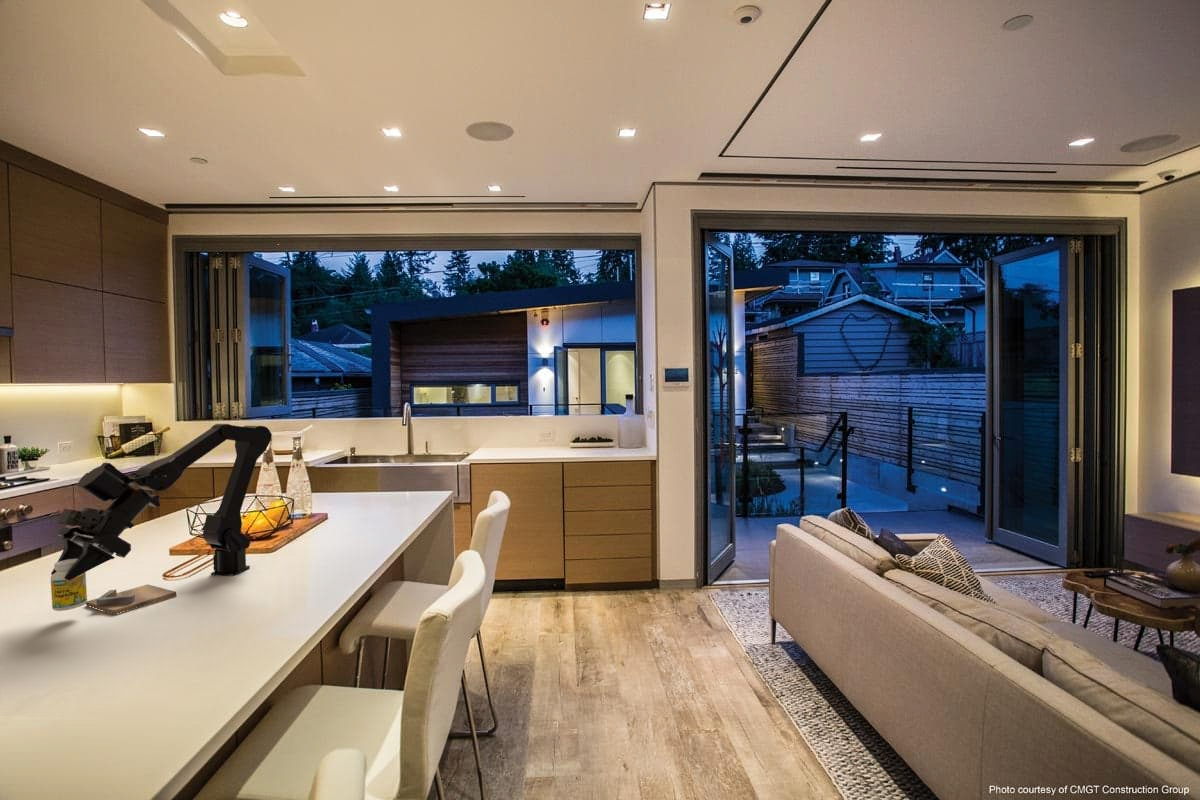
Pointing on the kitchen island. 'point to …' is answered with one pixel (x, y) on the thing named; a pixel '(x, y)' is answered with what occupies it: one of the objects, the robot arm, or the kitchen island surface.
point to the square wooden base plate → (130, 598)
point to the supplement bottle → (67, 587)
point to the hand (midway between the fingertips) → (59, 577)
